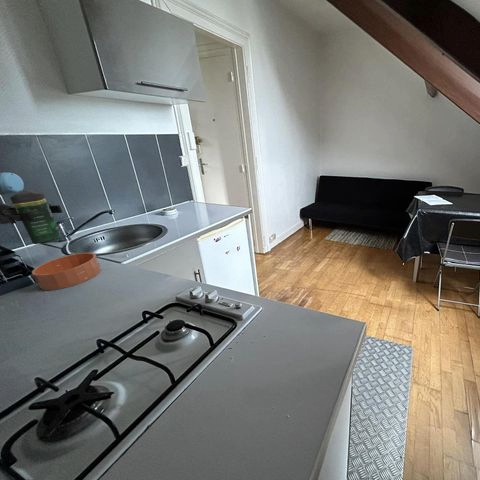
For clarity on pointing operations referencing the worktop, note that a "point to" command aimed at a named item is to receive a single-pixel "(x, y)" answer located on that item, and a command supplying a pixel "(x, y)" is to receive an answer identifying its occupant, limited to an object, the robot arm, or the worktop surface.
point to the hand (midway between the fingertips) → (46, 212)
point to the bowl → (66, 271)
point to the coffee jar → (37, 216)
